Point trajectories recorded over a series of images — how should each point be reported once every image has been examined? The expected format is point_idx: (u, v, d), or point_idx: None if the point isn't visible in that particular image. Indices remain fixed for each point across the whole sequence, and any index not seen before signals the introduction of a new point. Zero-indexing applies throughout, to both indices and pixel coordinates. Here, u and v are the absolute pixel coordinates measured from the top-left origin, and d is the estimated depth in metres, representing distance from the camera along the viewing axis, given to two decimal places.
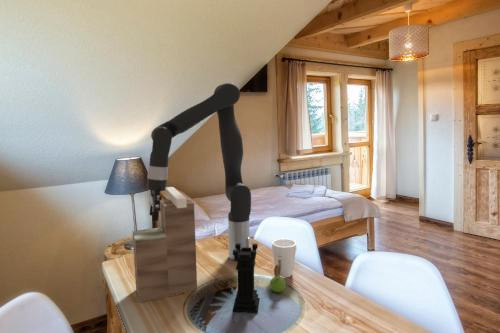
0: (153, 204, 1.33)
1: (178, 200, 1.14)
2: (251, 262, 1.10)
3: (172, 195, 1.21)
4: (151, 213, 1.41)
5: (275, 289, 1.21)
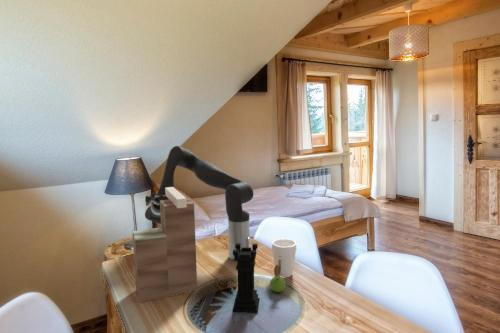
0: (153, 201, 1.49)
1: (178, 200, 1.14)
2: (251, 262, 1.10)
3: (172, 195, 1.21)
4: None
5: (275, 289, 1.21)
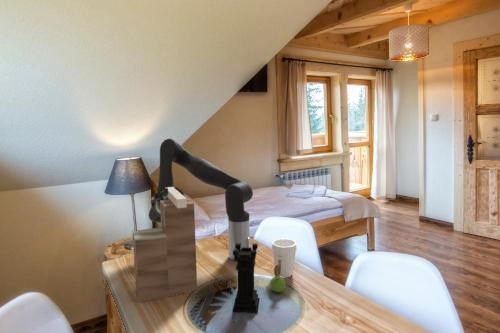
0: (163, 198, 1.34)
1: (178, 200, 1.14)
2: (251, 262, 1.10)
3: (172, 195, 1.21)
4: None
5: (275, 289, 1.21)
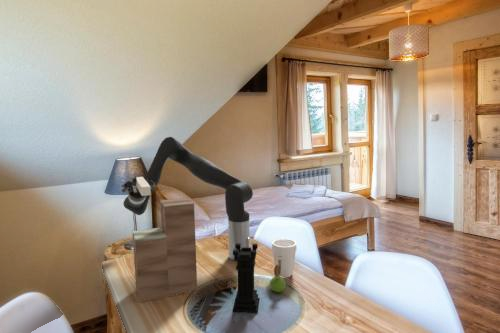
0: (133, 188, 1.38)
1: (142, 188, 1.19)
2: (251, 262, 1.10)
3: (138, 184, 1.26)
4: None
5: (275, 289, 1.21)
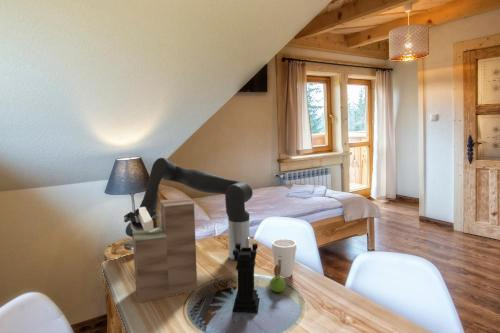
0: (135, 218, 1.38)
1: (145, 223, 1.18)
2: (251, 262, 1.10)
3: (141, 217, 1.25)
4: None
5: (275, 289, 1.21)
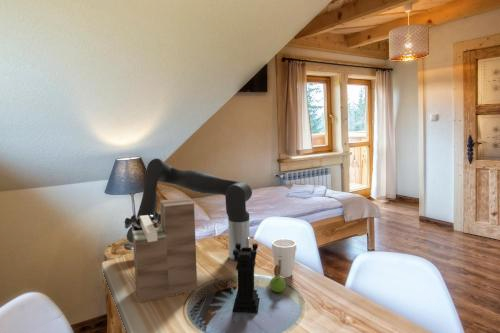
0: (134, 224, 1.31)
1: (148, 234, 1.12)
2: (251, 262, 1.10)
3: (144, 227, 1.19)
4: (154, 216, 1.29)
5: (275, 289, 1.21)
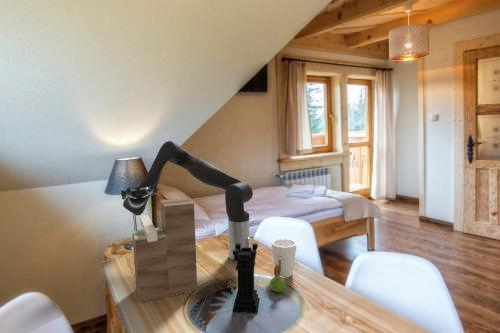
0: None
1: (148, 234, 1.12)
2: (251, 262, 1.10)
3: (144, 227, 1.19)
4: (150, 188, 1.42)
5: (275, 289, 1.21)
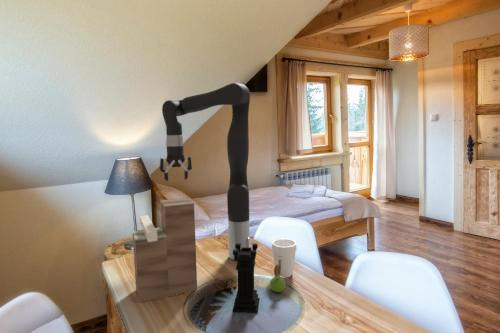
0: (166, 166, 1.60)
1: (148, 234, 1.12)
2: (251, 262, 1.10)
3: (144, 227, 1.19)
4: (184, 177, 1.63)
5: (275, 289, 1.21)
